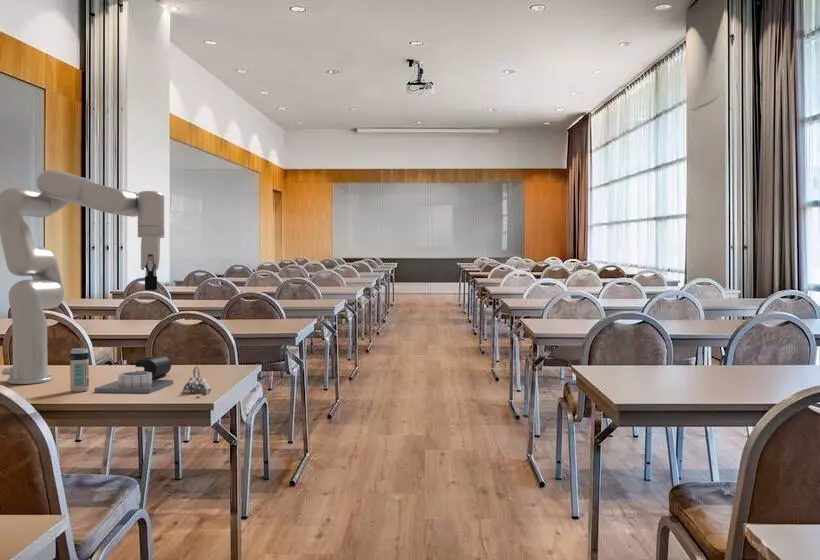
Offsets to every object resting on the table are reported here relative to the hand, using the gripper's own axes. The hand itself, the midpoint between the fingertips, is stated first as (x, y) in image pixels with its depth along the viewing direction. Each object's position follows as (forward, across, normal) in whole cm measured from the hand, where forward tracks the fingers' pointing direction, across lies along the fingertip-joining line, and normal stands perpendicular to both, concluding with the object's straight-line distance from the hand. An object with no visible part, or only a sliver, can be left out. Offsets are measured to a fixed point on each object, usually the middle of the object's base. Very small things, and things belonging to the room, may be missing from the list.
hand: (151, 289), depth 211 cm
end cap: (+29, -12, 0) cm, 31 cm away
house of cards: (+29, +20, +11) cm, 37 cm away
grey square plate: (+28, +6, -4) cm, 29 cm away
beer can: (+29, +6, -19) cm, 35 cm away
